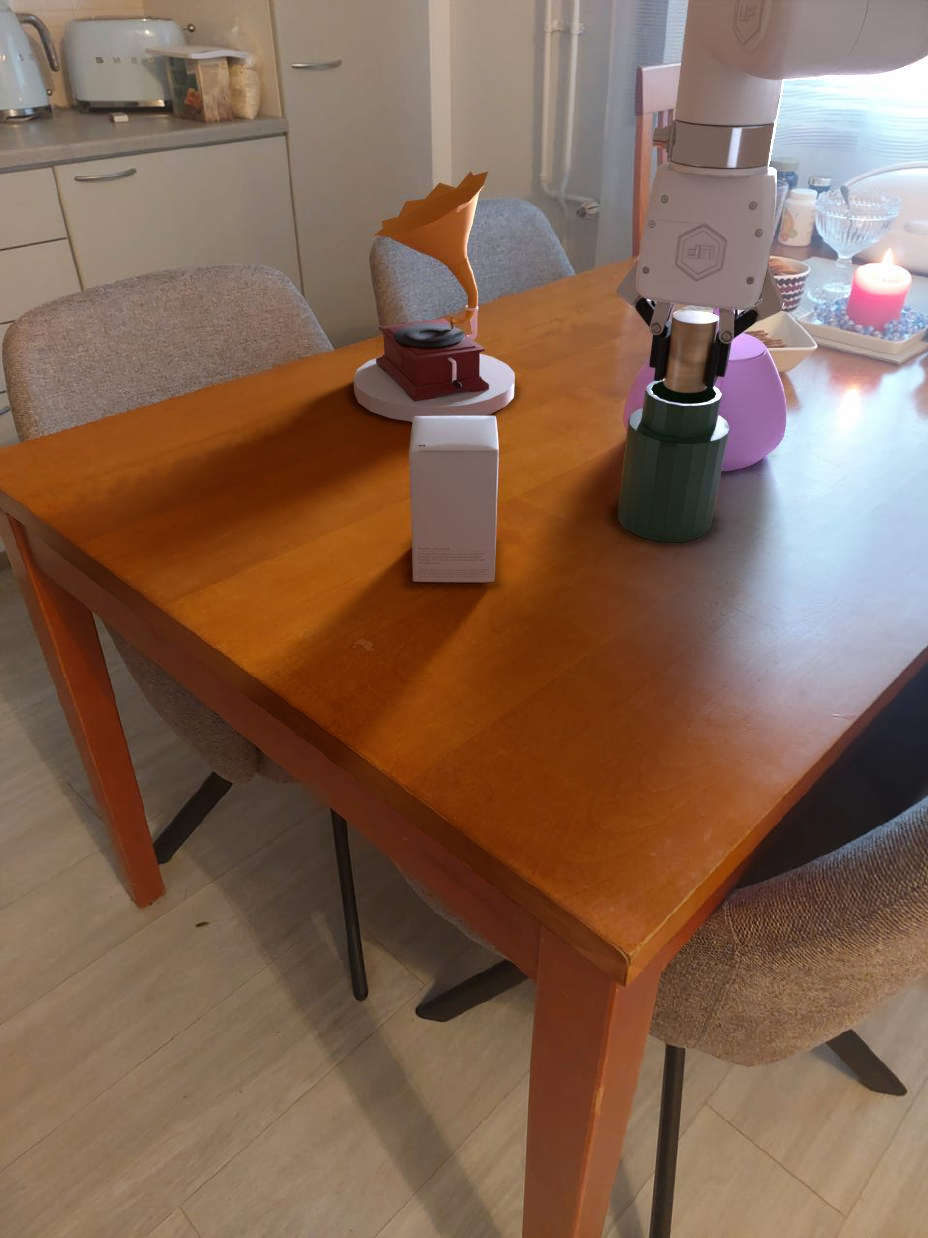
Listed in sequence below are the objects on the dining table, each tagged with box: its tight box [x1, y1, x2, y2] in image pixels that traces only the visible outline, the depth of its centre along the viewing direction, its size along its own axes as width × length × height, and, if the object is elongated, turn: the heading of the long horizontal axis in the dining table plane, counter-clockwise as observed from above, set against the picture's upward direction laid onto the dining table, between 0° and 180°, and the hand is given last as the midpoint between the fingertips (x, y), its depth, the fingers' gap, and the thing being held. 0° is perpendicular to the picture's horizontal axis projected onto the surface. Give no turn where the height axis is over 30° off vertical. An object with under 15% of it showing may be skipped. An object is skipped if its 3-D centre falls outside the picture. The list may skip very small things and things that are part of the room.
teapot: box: [622, 308, 788, 472], centre depth 98 cm, size 25×18×14 cm
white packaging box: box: [408, 415, 500, 584], centre depth 77 cm, size 7×7×13 cm
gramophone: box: [352, 171, 516, 423], centre depth 107 cm, size 20×20×25 cm
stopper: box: [664, 309, 718, 393], centre depth 77 cm, size 4×4×6 cm
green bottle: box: [617, 379, 730, 543], centre depth 83 cm, size 9×9×13 cm
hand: (686, 377), depth 79 cm, fingers closed on stopper, 3 cm apart
